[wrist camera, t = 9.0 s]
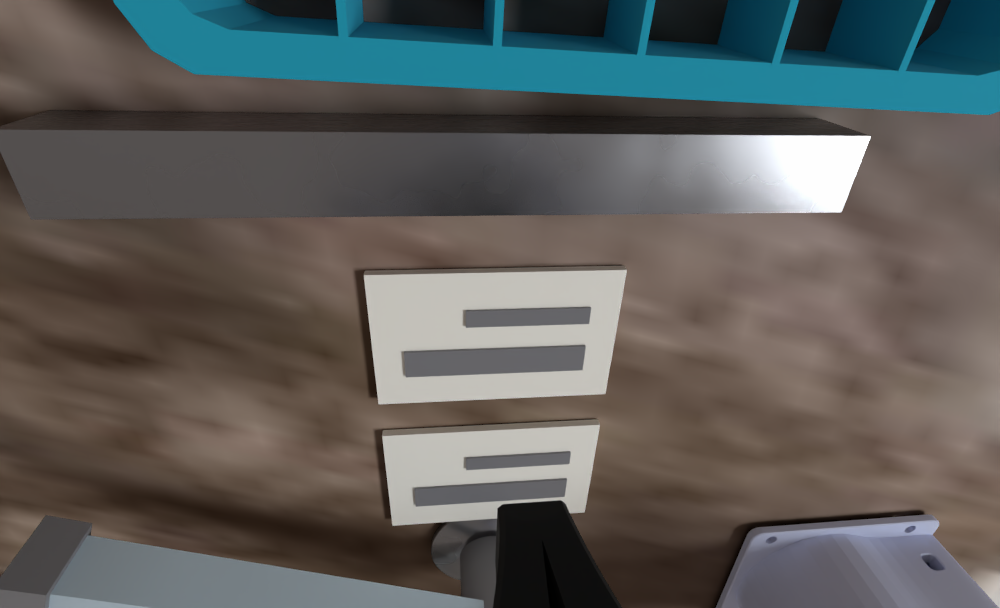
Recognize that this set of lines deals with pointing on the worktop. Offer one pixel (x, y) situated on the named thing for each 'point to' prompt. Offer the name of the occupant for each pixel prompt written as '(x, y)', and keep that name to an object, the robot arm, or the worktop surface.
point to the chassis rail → (422, 165)
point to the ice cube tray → (608, 53)
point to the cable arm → (204, 578)
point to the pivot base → (457, 542)
